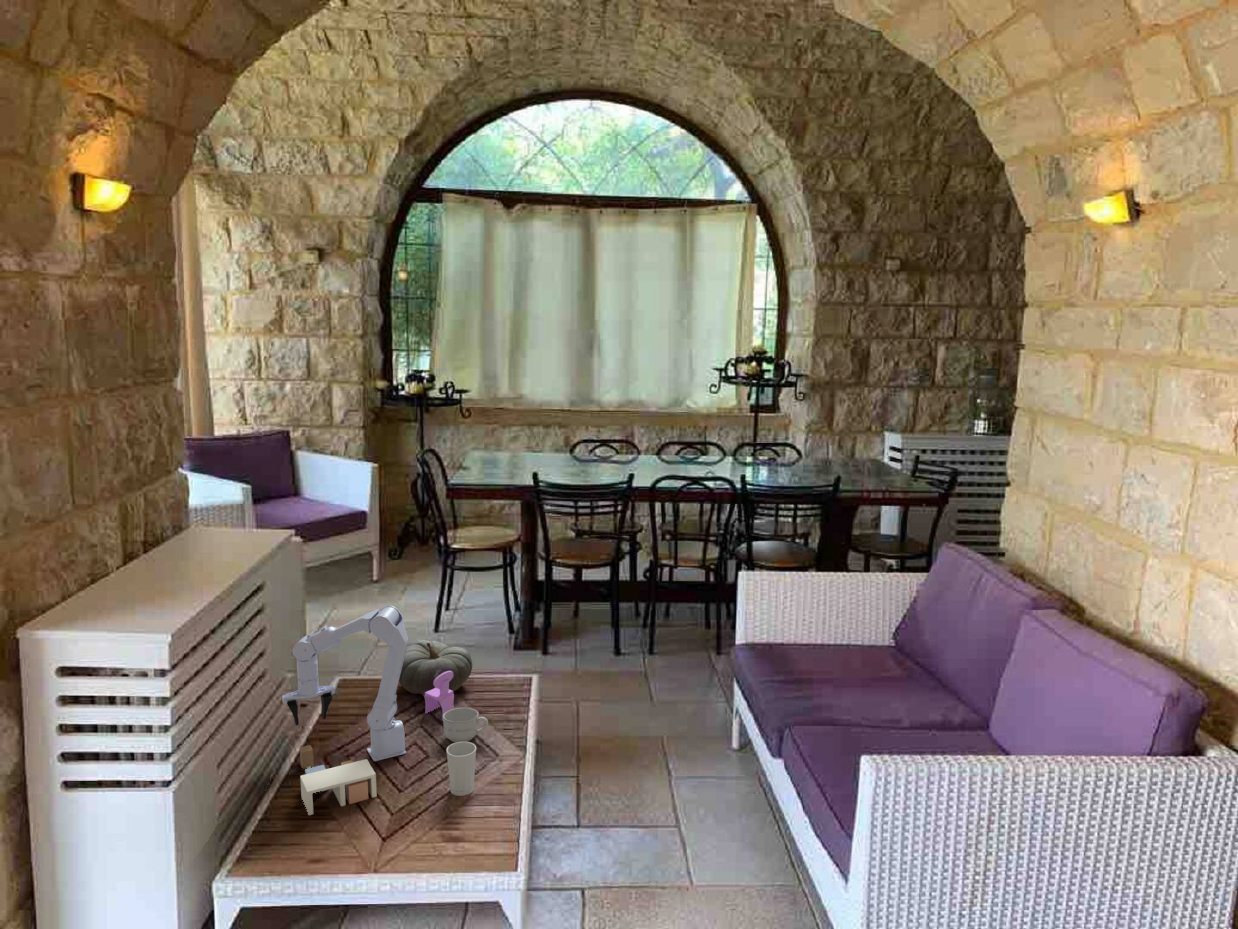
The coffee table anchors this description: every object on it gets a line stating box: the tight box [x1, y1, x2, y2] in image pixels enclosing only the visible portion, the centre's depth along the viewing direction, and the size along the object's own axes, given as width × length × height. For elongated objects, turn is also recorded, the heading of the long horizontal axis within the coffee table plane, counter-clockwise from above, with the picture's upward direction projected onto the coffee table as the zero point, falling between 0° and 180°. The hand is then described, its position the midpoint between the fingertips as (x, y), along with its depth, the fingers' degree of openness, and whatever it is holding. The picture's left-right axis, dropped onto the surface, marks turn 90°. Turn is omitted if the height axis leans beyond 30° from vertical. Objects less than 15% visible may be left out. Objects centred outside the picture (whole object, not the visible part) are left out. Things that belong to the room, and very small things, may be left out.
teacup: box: [442, 707, 489, 743], centre depth 262 cm, size 14×11×8 cm
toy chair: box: [423, 671, 455, 721], centre depth 278 cm, size 8×9×15 cm
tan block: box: [340, 759, 369, 805], centre depth 234 cm, size 5×12×6 cm, turn 31°
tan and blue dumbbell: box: [299, 744, 330, 792], centre depth 240 cm, size 5×17×6 cm, turn 31°
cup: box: [445, 741, 477, 797], centre depth 234 cm, size 8×8×12 cm
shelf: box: [299, 758, 378, 816], centre depth 230 cm, size 18×9×7 cm, turn 121°
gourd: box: [398, 639, 473, 697], centre depth 296 cm, size 25×25×17 cm
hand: (310, 720), depth 253 cm, fingers open, 7 cm apart
